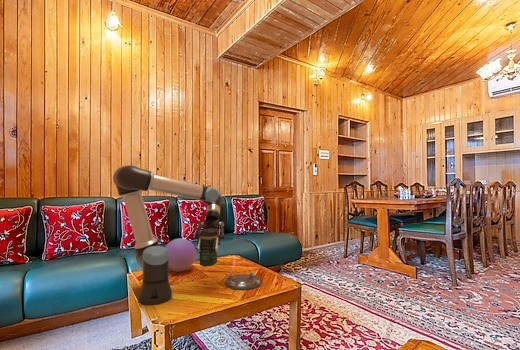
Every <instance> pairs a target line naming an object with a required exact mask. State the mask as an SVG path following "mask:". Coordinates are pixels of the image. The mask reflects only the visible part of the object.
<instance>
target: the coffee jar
mask: <svg viewBox="0 0 520 350" xmlns="http://www.w3.org/2000/svg"><path fill="white" fill-rule="evenodd" d="M217 229H218V228H217ZM217 229H216V228H208V229H205V230H203V229H201V230H200V233H199V234H200V252H199V266H201V267H204V268H205V267H206V268H207V267H213V266H215V265H216V264H217V263H218V251H217V252H216V249H215V248H216V240H217V238H218V236H217Z"/></svg>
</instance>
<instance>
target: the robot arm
mask: <svg viewBox="0 0 520 350" xmlns="http://www.w3.org/2000/svg"><path fill="white" fill-rule="evenodd" d="M112 179H113V183H114V185H115V187H116V190H117V194H118V196H119V197H121V198H123V199H122V200H123V203H124V205H125V210H126V212H127V217H128V219H129V222H130V226H131V227H130V228H131V230H132V233H133V236H134V237H133V238H134V240H135V244H134V246H133V247H134V252H135V260H136V262H137V264H138V265H139V266H140V267H141V268H142V285H141V287H140V291H139V293H138V299H137V300H138V303H140V304H142V305H146V306H152V305H153V306H154V305H160V304H163V303H165V302H168V301H169V300H171V299H172V298H173V290H172V287H171V284H170V282H169V275H170V274H169V270H170V269H169V252H168V249H167V248H165V247H166V246H161V245H160V244H159V240H158V238H156V237H154V234H153V230H152V226H151V222H150V220H149V216H148V212H147V209H146V206H145V203H144V202H145V201H144V198H143V194H142V193H143V191H144V192H149V191H155V192H160V193H165V194H170V195H175V196H180V197H183V198H189V199H194V200H198V201H200V202H201V203H204V204H206V205H207V206H206V212H205V216H204V217H205V220H204V221H201V220H199V221H198V225H197V228H196V230H195V233H194V235H193V236H194V239H195V240H196V245H197V252H199V253H200V231H202V230H205V229H208V228H216V229H217V240H216V248H215V249H216V252H217V253H218V249H219V246H220V245H221V241H222V240H225V230H224V226H225V222H224V221H220V215H221V207H222V202H223V201H222V200H223V199H222V198H223V197H222V193H221V192H220V191H219V190H218V189H217V188H215V187H209V186H206V185H200V184H197V183H192V182H189V181H183V180H180V179H175V178H171V177H166V176H164V175H163V176H162V175H158V174H155V173H153V171H150V170H146V169H143V168H141V167H138V166H135V165H129V164H128V165H123V166H120V167H118V168H117V169H116V170H115V171H114V173H113V176H112ZM218 226H220V231H221V233H220V232H219V230H218ZM202 227H203V228H202Z"/></svg>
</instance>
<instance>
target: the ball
mask: <svg viewBox="0 0 520 350" xmlns="http://www.w3.org/2000/svg"><path fill="white" fill-rule="evenodd" d="M164 247H165V248H167V249H168V252H169V270H170V271H172V272H175V273H180V272H184V271H186V270H188V269H190V267H192V266H193V264H194V263H195V261H196V258H197V250H196V247H195V245H194V243H192V241H190V240H188V239H187V238H183V237H181V238H178V237H177V238H174V239H172V240H171V241H169V242H168V243H167V244H166V245H165V246H164Z"/></svg>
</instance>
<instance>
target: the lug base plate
mask: <svg viewBox="0 0 520 350" xmlns="http://www.w3.org/2000/svg"><path fill="white" fill-rule="evenodd" d="M232 274H233V273H229V274H227V277H226V278H225V280H224V286H225V287H226V288H229V289H231V290H236V291H248V290H255V289H257V288H259V287H260V286H261V285H262V279H261V278H260V277H259V276H257V275H255V272H249V273H247V274H245V273H244V274H243V273H242V274H241V273H239V274H233V275H232Z"/></svg>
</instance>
